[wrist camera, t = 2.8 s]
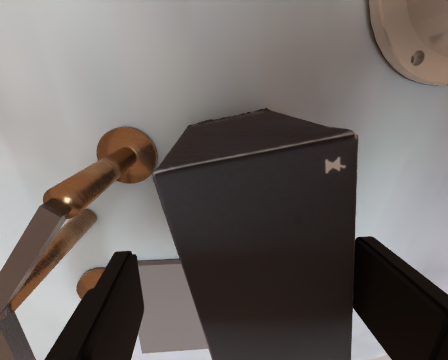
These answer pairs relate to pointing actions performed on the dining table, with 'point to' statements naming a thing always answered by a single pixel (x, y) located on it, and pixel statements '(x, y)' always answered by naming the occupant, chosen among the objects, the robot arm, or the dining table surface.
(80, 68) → the dining table surface
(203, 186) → the small box
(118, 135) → the bent rod
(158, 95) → the dining table surface
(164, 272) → the rubber pad
